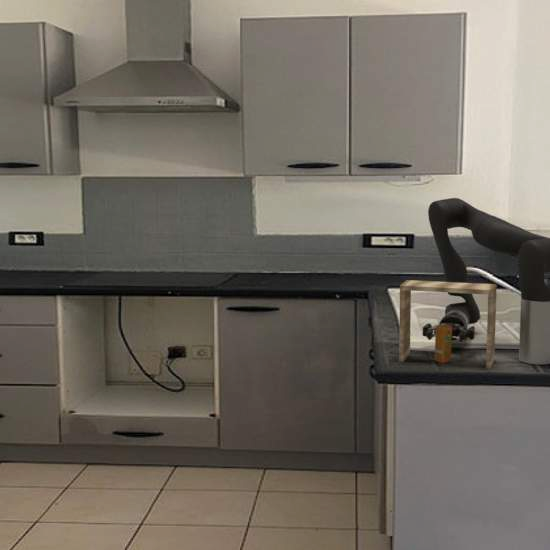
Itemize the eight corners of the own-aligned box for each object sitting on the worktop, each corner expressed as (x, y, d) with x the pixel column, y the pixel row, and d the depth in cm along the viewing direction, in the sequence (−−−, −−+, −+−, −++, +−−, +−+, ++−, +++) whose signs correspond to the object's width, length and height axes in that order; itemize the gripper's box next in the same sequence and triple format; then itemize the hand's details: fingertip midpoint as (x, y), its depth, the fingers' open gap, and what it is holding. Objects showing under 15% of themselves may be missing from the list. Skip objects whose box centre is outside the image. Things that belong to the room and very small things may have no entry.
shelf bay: (494, 360, 227) (496, 284, 224) (490, 369, 219) (493, 290, 215) (405, 353, 235) (406, 280, 232) (399, 361, 227) (399, 285, 224)
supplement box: (443, 363, 225) (444, 327, 223) (434, 360, 228) (434, 325, 226) (451, 361, 227) (452, 325, 225) (442, 358, 230) (442, 323, 228)
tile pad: (449, 343, 247) (449, 341, 247) (443, 352, 237) (443, 350, 237) (412, 340, 251) (412, 338, 251) (404, 349, 240) (404, 347, 240)
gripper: (429, 310, 246) (419, 322, 231) (479, 313, 241) (471, 325, 226) (429, 335, 247) (418, 348, 232) (478, 339, 242) (470, 352, 227)
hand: (444, 337), depth 229 cm, fingers open, 8 cm apart
